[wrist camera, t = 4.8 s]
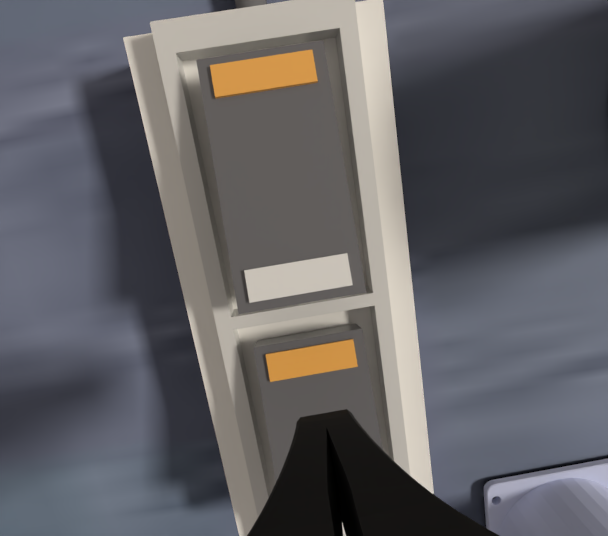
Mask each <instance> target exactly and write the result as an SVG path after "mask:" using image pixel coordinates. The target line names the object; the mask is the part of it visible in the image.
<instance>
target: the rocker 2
mask: <svg viewBox="0 0 608 536" xmlns="http://www.w3.org/2000/svg"><path fill="white" fill-rule="evenodd" d="M253 348H254V354H255V360H256V366H257V372H258V378H259V384H260V390H261V396H262V402H263V408H264V413H265V419H266V425H267V431H268V437H269V443H270V449H271V455H272V461H273V467H274V473H275V479H276V481H277V479H278V477H279V475H280V473H281V470H282V468H283V465H284V463H285V460H286V457H287V455H288V452H289V449H290V446H291V443H292V440H293V437H294V433H295V429H296V423H297V421H298V420H299V418H300V417H305V416H310V415H316V414H322V413H327V412H333V411H339V410H344V409H347V410H349V411H350V412H351V413H352V414H353V416H354V417H355V419H356V420H357V421H358V423H359V424H360V425H361V426H362V428H363V429H364V430H365V431H366V432H367V434H368V435H369V436H370V437H371V438H372V439H373V440H374V441H375V443H376V444H377V445H378V446H379V447H380V448H381V449H382V450H383V448H382V442H381V437H380V431H379V425H378V419H377V413H376V407H375V401H374V395H373V389H372V384H371V378H370V372H369V366H368V360H367V354H366V348H365V342H364V337H363V331H362V328H361V327H359V326H358V325H357V324H356V323H355V324H349V325H343V326H338V327H332V328H326V329H320V330H315V331H309V332H303V333H297V334H292V335H286V336H280V337H274V338H268V339H263V340H257V342H256V344H255V346H254V347H253ZM342 529H343V536H346V534H345V530H344V527H343V523H342Z"/></svg>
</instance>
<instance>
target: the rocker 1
mask: <svg viewBox="0 0 608 536" xmlns="http://www.w3.org/2000/svg"><path fill="white" fill-rule="evenodd" d="M196 62H197V68H198V74H199V80H200V86H201V92H202V98H203V104H204V110H205V116H206V122H207V128H208V134H209V140H210V146H211V152H212V158H213V164H214V170H215V176H216V182H217V188H218V194H219V200H220V206H221V212H222V218H223V224H224V230H225V236H226V242H227V248H228V254H229V260H230V266H231V272H232V278H233V284H234V290H235V296H236V302H237V308H238V314H244V313H250V312H256V311H262V310H267V309H273V308H279V307H285V306H291V305H297V304H302V303H308V302H314V301H320V300H326V299H332V298H337V297H343V296H349V295H355V294H361V293H367V292H366V287H365V281H364V275H363V269H362V263H361V258H360V252H359V246H358V240H357V234H356V228H355V223H354V217H353V211H352V205H351V199H350V194H349V188H348V182H347V176H346V170H345V164H344V159H343V153H342V147H341V141H340V135H339V130H338V124H337V118H336V112H335V106H334V100H333V95H332V89H331V83H330V77H329V71H328V65H327V60H326V54H325V48H324V42H323V40H320V41H314V42H307V43H301V44H294V45H288V46H281V47H275V48H269V49H262V50H256V51H249V52H243V53H236V54H230V55H223V56H217V57H210V58H204V59H197V60H196Z"/></svg>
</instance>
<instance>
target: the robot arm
mask: <svg viewBox="0 0 608 536" xmlns="http://www.w3.org/2000/svg"><path fill="white" fill-rule="evenodd" d="M496 496H497V497H496ZM494 497H496V498H494ZM493 498H494V499H493ZM484 503H485V517H486V528H485V527H483V526H482V525H480V524H478V523H477V522H475V521H473V520H472V519H470V518H468V517H467V516H465V515H463V514H462V513H460V512H458V511H457V510H455V509H454V508H452V507H451V506H449V505H448V504H446V503H445V502H443V501H442V500H441V499H439V498H438V497H436V496H435V495H434V494H432V493H431V492H430V491H428V490H427V489H426V488H425V487H423V486H422V485H421V484H419V483H418V482H417V481H416V480H415V479H413V478H412V477H411V476H410V475H409V474H408V473H407V472H405V471H404V470H403V469H402V468H401V467H400V466H399V465H398V464H396V463H395V462H394V461H393V460H392V459H391V458H390V457H389V456H388V455H387V454H386V453H385V452H384V451H383V450H382V449H381V448H380V447H379V446H378V445H377V444H376V443H375V441H374V440H373V439H372V438H371V437H370V436H369V435H368V434H367V432H366V431H365V430H364V429H363V428H362V426H361V425H360V424H359V423H358V421H357V420H356V419H355V417H354V416H353V414H352V413H351V412H350V411H349V410H347V409H344V410H339V411H333V412H327V413H322V414H316V415H310V416H305V417H300V418H299V420H298V421H297V423H296V429H295V433H294V437H293V440H292V443H291V446H290V449H289V452H288V455H287V457H286V460H285V463H284V465H283V468H282V470H281V473H280V475H279V477H278V479H277V481H276V484H275V486H274V488H273V490H272V492H271V494H270V496H269V498H268V500H267V502H266V504H265V506H264V508H263V510H262V511H261V513H260V515H259V517H258V518H257V520H256V522H255V523H254V525H253V527H252V528H251V530H250V532H249V533H248V535H247V536H343V529H342V523H343V527H344V530H345V534H346V536H608V459H602V460H597V461H591V462H586V463H581V464H575V465H570V466H564V467H559V468H554V469H548V470H543V471H538V472H532V473H527V474H521V475H516V476H511V477H505V478H500V479H494V480H490V481H488V482H487V483H486V484H485V486H484Z"/></svg>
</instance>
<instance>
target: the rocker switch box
mask: <svg viewBox="0 0 608 536" xmlns="http://www.w3.org/2000/svg"><path fill="white" fill-rule="evenodd" d="M235 4H236V9H232V10H225V11H219V12H212V13H206V14H199V15H192V16H186V17H179V18H172V19H166V20H159V21H153V22H150V26H151V30H152V33H150V34H143V35H137V36H130V37H123V39H124V43H125V48H126V52H127V56H128V60H129V65H130V69H131V73H132V78H133V82H134V86H135V90H136V95H137V99H138V103H139V108H140V112H141V116H142V120H143V125H144V129H145V133H146V138H147V142H148V146H149V150H150V155H151V159H152V163H153V168H154V172H155V176H156V181H157V185H158V189H159V193H160V198H161V202H162V206H163V211H164V215H165V219H166V223H167V228H168V232H169V236H170V241H171V245H172V249H173V253H174V258H175V262H176V266H177V271H178V275H179V279H180V283H181V288H182V292H183V296H184V301H185V305H186V309H187V313H188V318H189V322H190V326H191V331H192V335H193V339H194V343H195V348H196V352H197V356H198V361H199V365H200V369H201V373H202V378H203V382H204V386H205V391H206V395H207V399H208V403H209V408H210V412H211V416H212V421H213V425H214V429H215V433H216V438H217V442H218V446H219V451H220V455H221V459H222V463H223V468H224V472H225V476H226V481H227V485H228V489H229V493H230V498H231V502H232V506H233V511H234V515H235V519H236V523H237V528H238V532H239V536H247V535H248V533H249V532H250V530H251V528H252V527H253V525H254V523H255V522H256V520H257V518H258V517H259V515H260V513H261V511H262V510H263V508H264V506H265V504H266V502H267V500H268V498H269V496H270V494H271V492H272V490H273V488H274V486H275V484H276V479H275V473H274V467H273V461H272V455H271V449H270V443H269V437H268V431H267V425H266V419H265V413H264V408H263V402H262V396H261V390H260V384H259V378H258V372H257V366H256V360H255V354H254V348H253V347H254V346H255V344H256V342H257V340H263V339H268V338H274V337H280V336H286V335H292V334H297V333H303V332H309V331H315V330H320V329H326V328H332V327H338V326H343V325H349V324H355V323H356V324H357V325H358V326H359V327H361V328H362V331H363V337H364V342H365V348H366V354H367V360H368V366H369V372H370V378H371V384H372V389H373V395H374V401H375V407H376V413H377V419H378V425H379V431H380V437H381V442H382V448H383V451H384V452H385V453H386V454H387V455H388V456H389V457H390V458H391V459H392V460H393V461H394V462H395V463H396V464H398V465H399V466H400V467H401V468H402V469H403V470H404V471H405V472H407V473H408V474H409V475H410V476H411V477H412V478H413V479H415V480H416V481H417V482H418V483H419V484H421V485H422V486H423V487H425V488H426V489H427V490H428V491H430V492H431V493H432V494H434V491H433V481H432V472H431V462H430V452H429V442H428V433H427V423H426V413H425V404H424V394H423V384H422V375H421V365H420V355H419V345H418V336H417V326H416V316H415V307H414V297H413V287H412V278H411V268H410V258H409V248H408V239H407V229H406V219H405V210H404V200H403V190H402V181H401V171H400V161H399V151H398V142H397V132H396V122H395V113H394V103H393V93H392V84H391V74H390V64H389V54H388V45H387V35H386V25H385V16H384V6H383V0H367V1H361V2H355V0H292V1H285V2H278V3H272V4H267V2H266V0H235ZM320 40H323V42H324V48H325V54H326V60H327V65H328V71H329V77H330V83H331V89H332V95H333V100H334V106H335V112H336V118H337V124H338V130H339V135H340V141H341V147H342V153H343V159H344V164H345V170H346V176H347V182H348V188H349V194H350V199H351V205H352V211H353V217H354V223H355V228H356V234H357V240H358V246H359V252H360V258H361V263H362V269H363V275H364V281H365V287H366V292H367V293H361V294H355V295H349V296H343V297H337V298H332V299H326V300H320V301H314V302H308V303H302V304H297V305H291V306H285V307H279V308H273V309H267V310H262V311H256V312H250V313H244V314H238V308H237V302H236V296H235V290H234V284H233V278H232V272H231V266H230V260H229V254H228V248H227V242H226V236H225V230H224V224H223V218H222V212H221V206H220V200H219V194H218V188H217V182H216V176H215V170H214V164H213V158H212V152H211V146H210V140H209V134H208V128H207V122H206V116H205V110H204V104H203V98H202V92H201V86H200V80H199V74H198V68H197V62H196V60H197V59H204V58H210V57H217V56H223V55H230V54H236V53H243V52H249V51H256V50H262V49H269V48H275V47H281V46H288V45H294V44H301V43H307V42H314V41H320Z"/></svg>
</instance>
